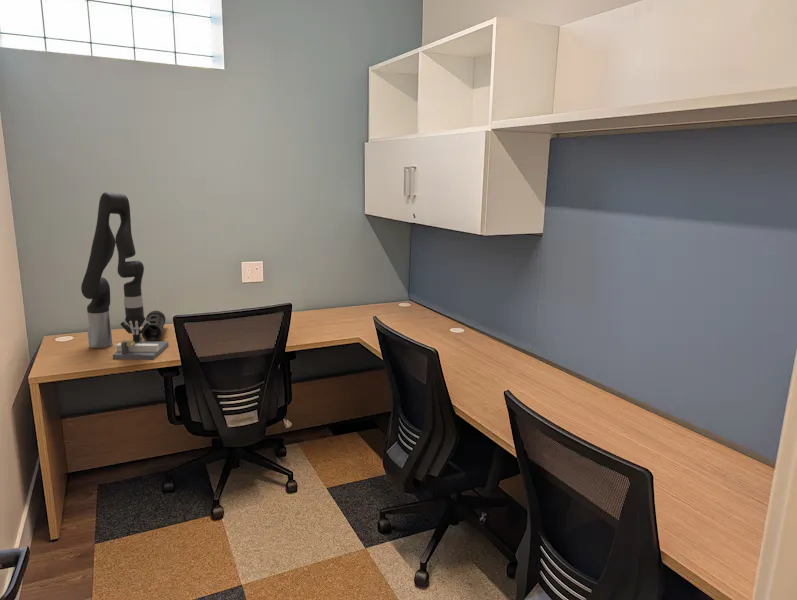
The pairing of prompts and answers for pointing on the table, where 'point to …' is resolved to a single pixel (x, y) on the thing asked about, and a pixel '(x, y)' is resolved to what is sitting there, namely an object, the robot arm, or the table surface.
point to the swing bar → (131, 341)
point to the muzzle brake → (154, 326)
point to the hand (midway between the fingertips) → (137, 341)
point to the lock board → (142, 354)
